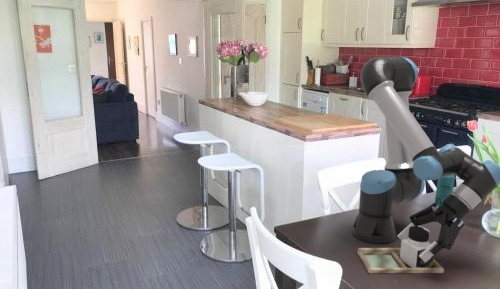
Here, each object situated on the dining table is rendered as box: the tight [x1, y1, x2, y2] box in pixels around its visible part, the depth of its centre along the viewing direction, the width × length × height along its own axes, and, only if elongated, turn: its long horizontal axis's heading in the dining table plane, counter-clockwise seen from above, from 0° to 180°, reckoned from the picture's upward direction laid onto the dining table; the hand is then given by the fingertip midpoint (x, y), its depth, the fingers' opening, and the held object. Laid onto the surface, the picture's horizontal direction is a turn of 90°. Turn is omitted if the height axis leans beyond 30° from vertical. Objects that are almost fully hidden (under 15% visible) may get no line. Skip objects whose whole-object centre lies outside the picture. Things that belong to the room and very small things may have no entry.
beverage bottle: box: [433, 174, 456, 207], centre depth 168 cm, size 6×7×20 cm
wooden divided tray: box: [357, 247, 445, 274], centre depth 127 cm, size 23×12×2 cm, turn 91°
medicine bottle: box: [399, 225, 435, 268], centre depth 126 cm, size 7×7×12 cm
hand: (410, 248), depth 126 cm, fingers open, 13 cm apart
